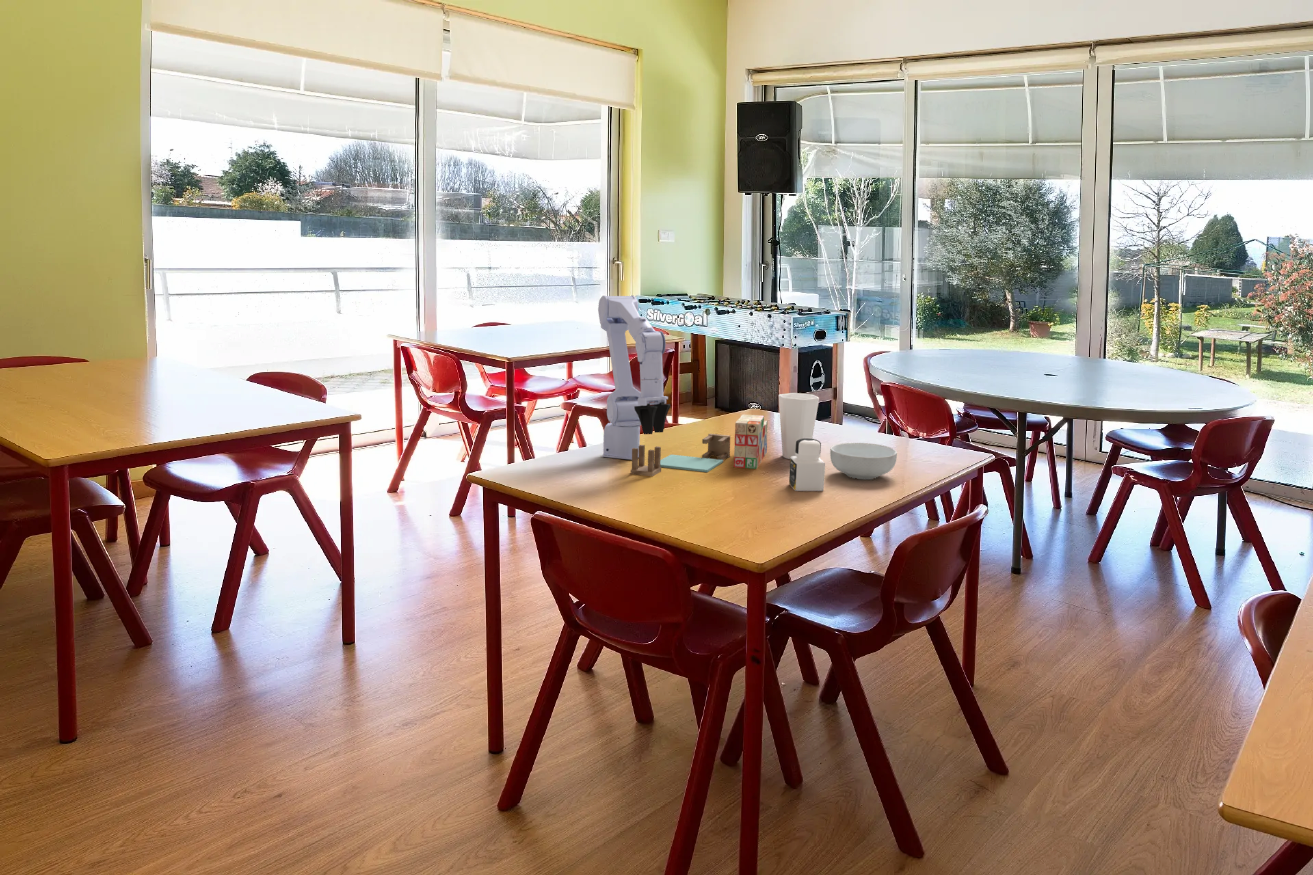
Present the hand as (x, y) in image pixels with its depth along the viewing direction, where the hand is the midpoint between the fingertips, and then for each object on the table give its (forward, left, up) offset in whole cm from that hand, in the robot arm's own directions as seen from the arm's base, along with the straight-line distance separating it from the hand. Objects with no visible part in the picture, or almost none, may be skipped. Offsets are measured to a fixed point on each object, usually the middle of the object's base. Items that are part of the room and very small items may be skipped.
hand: (653, 433), depth 268 cm
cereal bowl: (+49, +21, -11) cm, 55 cm away
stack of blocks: (+18, +26, -11) cm, 34 cm away
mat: (+5, +13, -10) cm, 17 cm away
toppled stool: (+9, +20, -7) cm, 23 cm away
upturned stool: (-2, -1, -10) cm, 11 cm away
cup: (+28, +35, -10) cm, 46 cm away
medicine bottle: (+39, +2, -10) cm, 41 cm away
